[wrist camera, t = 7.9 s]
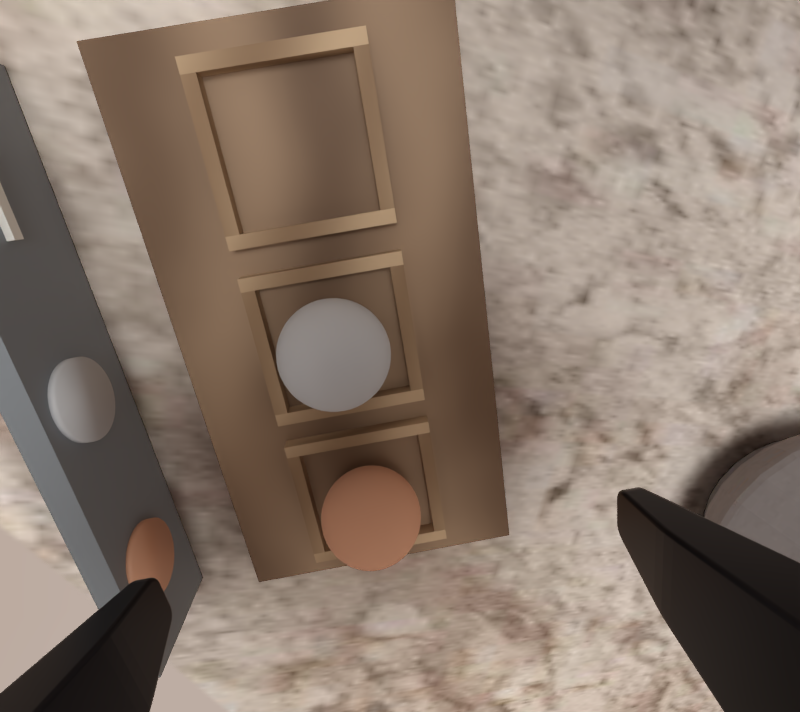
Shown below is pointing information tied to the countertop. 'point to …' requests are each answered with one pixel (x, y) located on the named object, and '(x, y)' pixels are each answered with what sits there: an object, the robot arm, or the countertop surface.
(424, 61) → the rack
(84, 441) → the card
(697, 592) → the robot arm
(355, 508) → the terracotta ball
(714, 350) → the countertop surface
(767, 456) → the coffee pot
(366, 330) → the grey ball
